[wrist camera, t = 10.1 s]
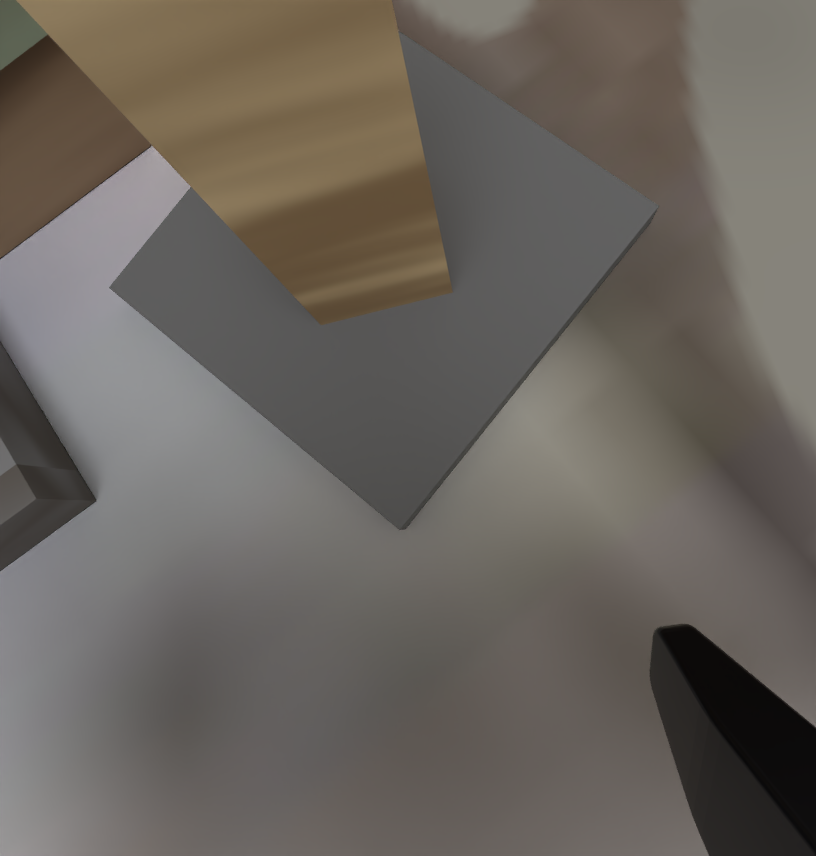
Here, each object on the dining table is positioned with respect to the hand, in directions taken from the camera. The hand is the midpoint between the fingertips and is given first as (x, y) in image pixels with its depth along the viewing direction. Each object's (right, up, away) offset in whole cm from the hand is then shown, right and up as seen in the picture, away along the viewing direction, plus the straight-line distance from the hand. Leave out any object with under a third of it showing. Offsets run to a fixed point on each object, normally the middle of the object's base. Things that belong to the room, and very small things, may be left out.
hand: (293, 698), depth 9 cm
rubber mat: (+1, +8, +10) cm, 13 cm away
